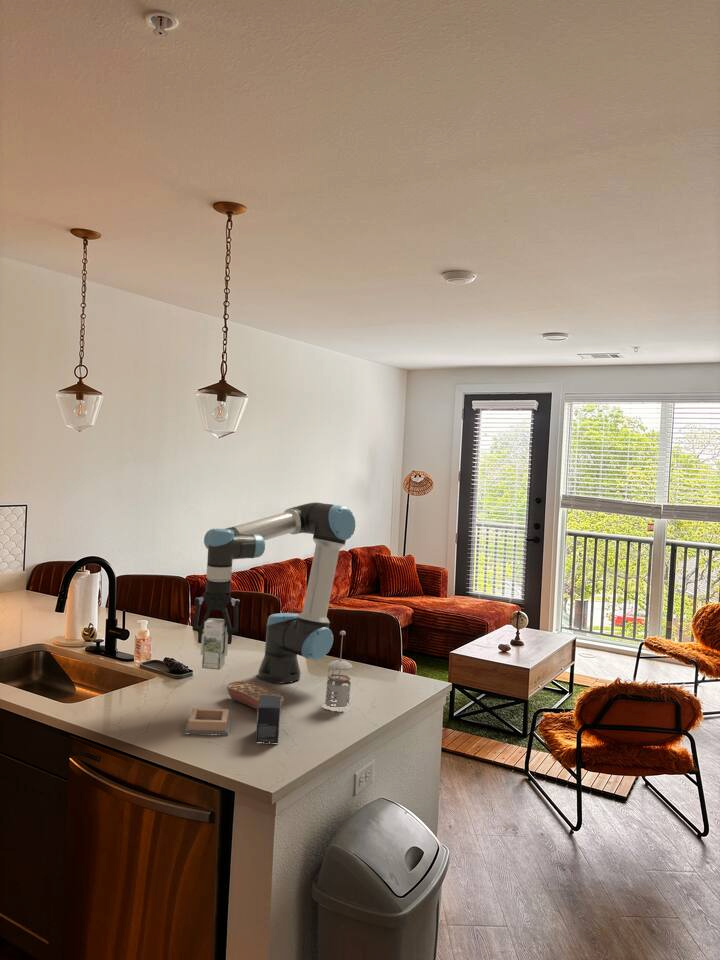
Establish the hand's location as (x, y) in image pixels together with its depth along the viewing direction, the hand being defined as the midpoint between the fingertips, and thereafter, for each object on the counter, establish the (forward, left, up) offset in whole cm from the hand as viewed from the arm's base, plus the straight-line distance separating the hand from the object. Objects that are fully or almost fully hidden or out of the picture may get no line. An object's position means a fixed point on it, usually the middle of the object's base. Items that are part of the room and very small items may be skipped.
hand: (214, 653), depth 222 cm
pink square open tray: (-1, +14, -17) cm, 23 cm away
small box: (-18, +20, -18) cm, 32 cm away
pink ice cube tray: (-14, -5, -18) cm, 23 cm away
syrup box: (0, 0, -4) cm, 4 cm away
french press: (-40, -8, -18) cm, 44 cm away
